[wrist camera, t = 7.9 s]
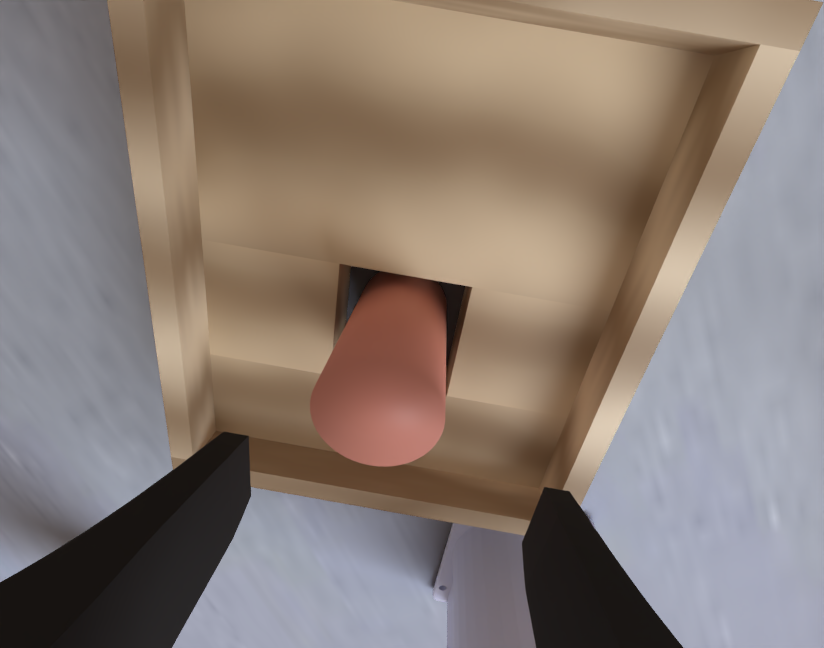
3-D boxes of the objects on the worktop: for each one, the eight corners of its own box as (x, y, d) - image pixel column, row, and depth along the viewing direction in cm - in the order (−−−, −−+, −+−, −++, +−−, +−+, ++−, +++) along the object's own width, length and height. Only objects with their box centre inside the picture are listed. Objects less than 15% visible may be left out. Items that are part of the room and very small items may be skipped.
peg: (438, 350, 20) (433, 476, 13) (357, 337, 20) (307, 454, 13) (454, 273, 18) (457, 369, 11) (365, 258, 18) (312, 345, 11)
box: (542, 468, 23) (562, 542, 19) (222, 411, 23) (173, 473, 19) (715, 36, 14) (823, 2, 10) (192, -54, 14) (89, -124, 10)
